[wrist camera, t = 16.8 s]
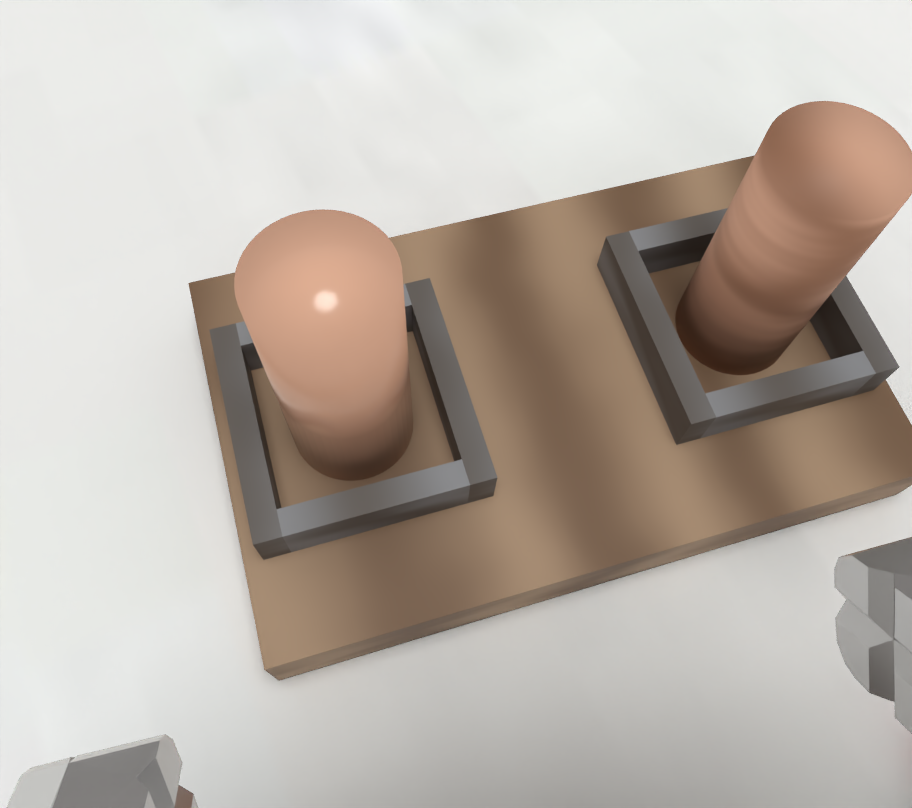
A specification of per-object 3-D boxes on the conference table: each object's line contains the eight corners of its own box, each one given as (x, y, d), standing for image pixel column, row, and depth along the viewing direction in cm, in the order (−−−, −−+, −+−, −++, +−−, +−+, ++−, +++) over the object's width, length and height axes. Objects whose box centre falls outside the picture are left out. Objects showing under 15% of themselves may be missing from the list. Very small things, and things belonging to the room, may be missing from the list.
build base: (734, 197, 41) (859, -43, 29) (896, 494, 34) (1139, 340, 23) (206, 320, 37) (102, 100, 25) (279, 680, 31) (186, 611, 19)
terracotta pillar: (396, 358, 33) (379, 194, 24) (427, 462, 31) (421, 327, 22) (282, 386, 32) (221, 229, 23) (306, 494, 31) (250, 369, 21)
